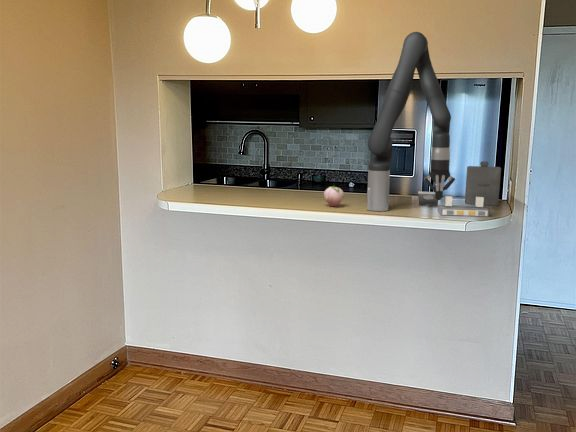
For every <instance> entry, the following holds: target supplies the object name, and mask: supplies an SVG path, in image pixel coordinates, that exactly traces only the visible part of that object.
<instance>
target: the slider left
mask: <svg viewBox="0 0 576 432" xmlns="http://www.w3.org/2000/svg"><path fill="white" fill-rule="evenodd" d="M444 205H445V206H452V205H453V195H450V194H449V195H448V194H446V195H445V196H444Z"/></svg>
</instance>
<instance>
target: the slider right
mask: <svg viewBox="0 0 576 432" xmlns="http://www.w3.org/2000/svg"><path fill="white" fill-rule="evenodd" d="M483 202H484V197H483V196H476V203H475V205H474V206H476V207H483V206H484V205H483Z"/></svg>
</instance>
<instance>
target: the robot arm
mask: <svg viewBox="0 0 576 432" xmlns="http://www.w3.org/2000/svg"><path fill="white" fill-rule="evenodd" d="M394 70H395V71H394V72H393V75H392V77H391V80H390V82H389V85H388V87H387V90H386V91H385V95H384V98H383V101H382V104H381V107H380V111H379V114H378V117H377V121H376V123H375V125H374V127H373V130H372V131H371V134H370V135H369V137H368V140H367V147H368V148H367V149H368V150H369V151H370V159H369V162H368V165H367V167H368V168H367V172H368V173H367V190H366V191H367V192H366V210H367V211H371V212H372V211H374V212H385V211H389V207H390V206H389V199H390V179H391V178H390V177H391V165H392V158H393V139H392V136H391V135H392V132H393V130H394V127H395V125H396V122H397V121H398V119H399V117H400V116H401V114H402V112H403V110H404V109H405V107H406V104H407V102H408V99H409V96H410V93H411V90H412V86H413V82H414V76H415V71H417V75H418V78H419V82H420V86H421V89H422V92H423V95H424V98H425V101H426V103H427V105H428V107H429V110H430V114H431V117H432V137H431V139H432V141H431V152H430V171H429V173H428V175H427V176H426V177H423V180H424V181H425V183H426V184H427V185H428V186H429V188H430V189H431V190H432V191H434V192H435V198H436V199H437V200H438V201H441V200H442V199H443V191H445V190H446V191H447V190H448V189H449V188H450V186H451V185H452V184H453V183H455V181H456V178H455V177H453V175H451V172H450V159H451V158H450V156H451V152H450V151H451V150H450V144H451V142H450V141H451V140H450V139H451V137H450V129H451V119H452V116H451V115H452V114H451V113H450V110H449V108H448V105H447V103H446V101H445V98H444V93H443V91H442V88H441V85H440V83H439V82H440V81H439V80H438V77H437V74H436V72H435V70H434V68H433V63H432V61H431V58H430V51H429V42H428V39H427V37H426V36H425V34H423V33H422V32H419V31H413V32H410V33H409V34H408V35H406V37H405V38H404V40H403V44H402V48H401V53H400V57H399V60H398V62H397V66H396V69H394ZM431 180H432V182H433V183H434V185H433V184H432V183H431ZM447 180H448V181H447ZM445 183H446V184H445Z"/></svg>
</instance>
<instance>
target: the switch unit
mask: <svg viewBox="0 0 576 432" xmlns="http://www.w3.org/2000/svg"><path fill="white" fill-rule="evenodd" d="M437 213H438V214H439V215H440V216H443V217H445V216H447V217H448V216H449V217H476V218H477V217H480V218H481V217H482V218H489V215H490V214H489V213H490V209H489V208H487V207H486V206H484V205H483V207H476V206H475V205H466V204H465V205H463V204H459V205H457V204H452V206H445V204H438V206H437Z"/></svg>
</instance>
